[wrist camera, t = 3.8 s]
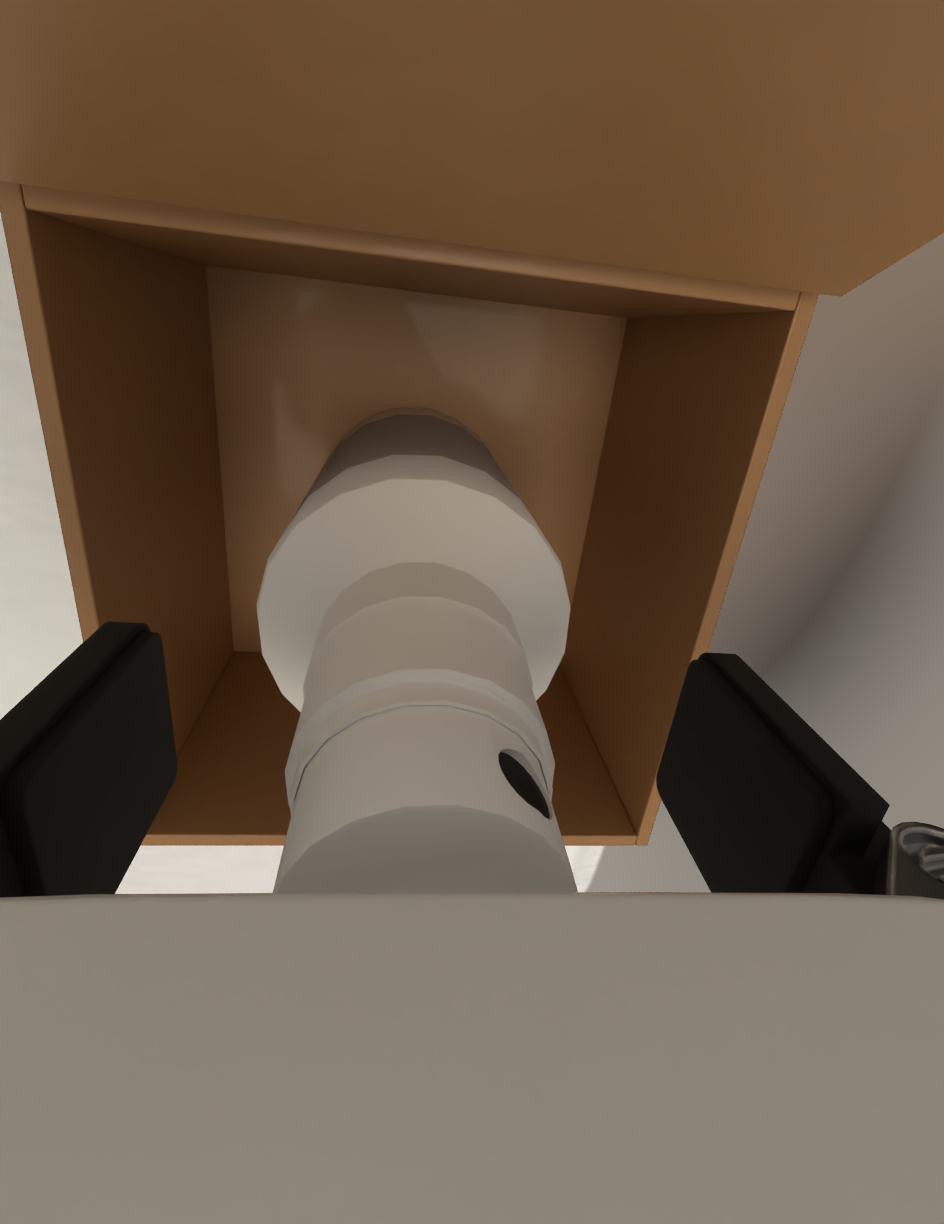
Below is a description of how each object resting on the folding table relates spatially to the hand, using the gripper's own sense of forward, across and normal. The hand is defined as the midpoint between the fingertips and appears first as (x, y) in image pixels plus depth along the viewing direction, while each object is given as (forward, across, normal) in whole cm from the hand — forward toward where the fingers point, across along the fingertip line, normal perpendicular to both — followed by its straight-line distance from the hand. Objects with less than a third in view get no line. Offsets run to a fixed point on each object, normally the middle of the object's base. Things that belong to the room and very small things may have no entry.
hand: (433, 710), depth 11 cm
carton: (+14, 0, 0) cm, 14 cm away
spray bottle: (+14, 0, 0) cm, 14 cm away
